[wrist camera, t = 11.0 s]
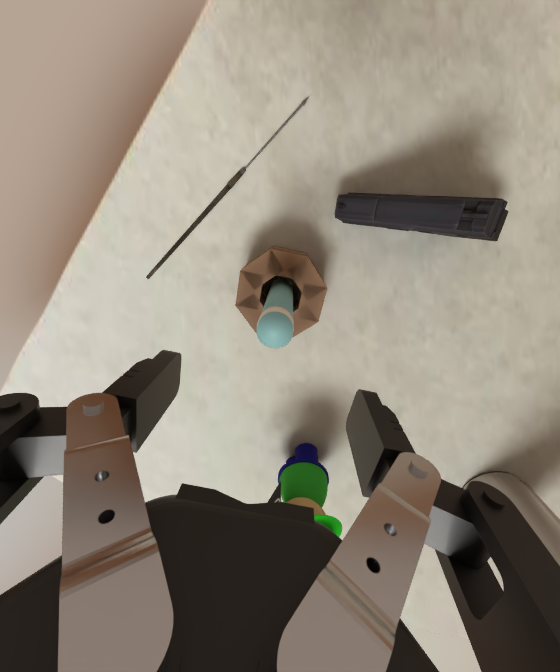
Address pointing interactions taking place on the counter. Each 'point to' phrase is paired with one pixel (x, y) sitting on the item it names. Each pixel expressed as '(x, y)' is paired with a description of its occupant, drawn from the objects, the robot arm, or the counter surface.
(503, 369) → the counter surface
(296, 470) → the toy
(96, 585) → the robot arm
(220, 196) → the paintbrush
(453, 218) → the handgun
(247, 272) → the bead
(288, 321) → the teal capped tube
